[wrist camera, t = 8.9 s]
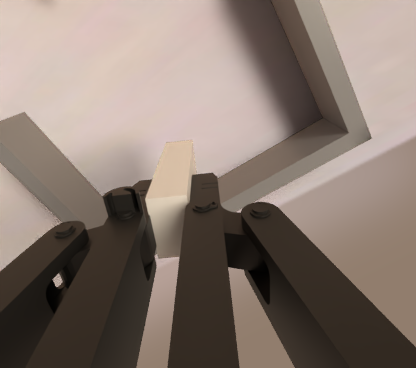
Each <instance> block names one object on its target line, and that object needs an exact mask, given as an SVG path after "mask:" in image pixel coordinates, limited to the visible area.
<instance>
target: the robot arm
mask: <svg viewBox="0 0 416 368" xmlns="http://www.w3.org/2000/svg"><path fill="white" fill-rule="evenodd" d="M103 201H104V204H105V207H106V211H107V214H108V218H107V219H106V221H105V223H104V225H102V226H99V227H95V228H92V229H88V230H87V229H86V227H85V224H84V223H83V222H81V221H67V222H63V223H61V224H59V225H57V226H55V227H53V228H52V229H50V230H49V231H48V232H47V233H45V234H44V235H43V236H42V237H41V238H39V239H38V240H37V241H36V242H35V243H34V244H32V245H31V246H30V247H29V248H28V249H26V250H25V251H24V252H23V253H22V254H20V255H19V256H18V257H17V258H16V259H15V260H13V261H12V262H11V263H10V264H9V265H7V266H6V267H5V268H4V269H3V270H1V271H0V368H136V366H137V360H138V356H139V351H140V345H141V341H142V336H143V331H144V326H145V321H146V317H147V311H148V307H149V302H150V297H151V292H152V287H153V282H154V277H155V272H156V261H155V257H154V255H155V251H156V250H157V254H158V258H169V257H180V259H179V269H178V277H177V286H176V296H175V304H174V314H173V323H172V332H171V342H170V350H169V359H168V368H239V360H238V351H237V342H236V333H235V325H234V316H233V307H232V298H231V289H230V281H229V272H228V267H231V268H237V269H244V271H245V275H246V277H247V279H248V281H249V283H250V285H251V286H252V288H253V290H254V292H255V294H256V296H257V298H258V300H259V302H260V303H261V305H262V307H263V309H264V311H265V313H266V315H267V316H268V318H269V320H270V322H271V324H272V326H273V328H274V329H275V331H276V333H277V335H278V337H279V339H280V340H281V343H282V344H283V346H284V348H285V350H286V352H287V354H288V355H289V358H290V359H291V361H292V363H293V365H294V367H295V368H416V347H415V346H414V345H413V344H412V343H411V342H410V341H409V340H408V339H407V338H406V337H405V336H404V335H403V334H402V333H401V332H400V331H399V330H398V329H397V328H396V327H395V326H394V325H393V324H392V323H391V322H390V321H389V320H388V319H387V318H386V317H385V316H384V315H383V314H382V313H381V312H380V311H379V310H378V309H377V308H376V307H375V305H374V304H373V303H372V302H371V301H370V300H369V299H368V298H366V296H365V295H364V294H363V293H362V292H361V291H360V290H359V289H357V287H356V286H355V285H354V284H353V283H352V282H351V281H350V280H349V279H348V278H347V277H346V276H345V275H344V274H343V273H342V272H341V271H340V270H339V269H338V268H337V267H336V266H335V265H334V264H333V263H332V262H331V261H330V260H329V259H328V258H327V257H326V256H325V255H324V254H323V253H322V252H321V251H320V250H319V249H318V248H317V247H316V246H315V245H314V244H313V243H312V242H311V241H310V240H309V239H308V238H307V237H306V235H305V234H303V233H302V231H301V230H300V229H299V228H298V227H297V226H296V225H295V224H294V223H293V222H292V221H291V220H290V219H289V218H288V217H287V216H286V215H285V214H284V213H283V212H282V211H281V210H280V209H279V208H278V207H276V206H275V205H273V204H270V203H266V202H256V203H251V204H248V205H246V206H245V207H244V208H242V211H241V213H237V212H231V211H228V210H226V209H224V208H223V207H222V206H221V204H220V196H219V188H218V179H217V176H215V175H214V174H213V173H206V174H197V173H196V165H195V157H194V149H193V141H192V140H187V141H178V142H168V143H166V144H165V147H164V150H163V152H162V155H161V158H160V160H159V163H158V166H157V168H156V171H155V174H154V177H153V179H152V180H143V181H139V182H138V183H136V184H135V185H134V186H133V187H120V188H116V189H113V190H111V191H109V192H107V193H106V194H105V195H104V196H103ZM58 273H59V274H60V276H61V278H62V281H63V283H62V284H61V285H60V286H58V287H56V286H55V284H54V282H53V280H52V279H53V278H54V277H55V276H56V275H57V274H58Z"/></svg>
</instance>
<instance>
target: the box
mask: <svg viewBox="0 0 416 368" xmlns="http://www.w3.org/2000/svg"><path fill="white" fill-rule="evenodd" d="M271 2H272V4H273V7H274V9H275V11H276V13H277V16H278V18H279V20H280V22H281V25H282V27H283V29H284V31H285V34H286V36H287V38H288V40H289V43H290V45H291V47H292V49H293V52H294V54H295V56H296V58H297V61H298V63H299V65H300V67H301V70H302V72H303V74H304V76H305V79H306V81H307V83H308V85H309V88H310V90H311V92H312V94H313V97H314V99H315V101H316V103H317V106H318V108H319V110H320V112H321V115H322V117H323V118H322V119H320V120H319V121H317V122H315V123H313V124H312V125H310V126H308V127H306V128H305V129H303V130H301V131H299V132H298V133H296V134H294V135H293V136H291V137H289V138H287V139H286V140H284V141H282V142H280V143H279V144H277V145H275V146H273V147H272V148H270V149H268V150H267V151H265V152H263V153H261V154H260V155H258V156H256V157H254V158H253V159H251V160H249V161H247V162H246V163H244V164H242V165H241V166H239V167H237V168H235V169H234V170H232V171H230V172H228V173H227V174H225V175H223V176H221V177H220V178H218V188H219V196H220V204H221V206H222V207H223V208H224V209H226V210H228V211H231V212H236V211H238V210H240V209H241V208H243V207H245V206H246V205H248V204H251V203H253V202H254V201H256V200H258V199H260V198H262V197H264V196H266V195H267V194H269V193H271V192H273V191H275V190H277V189H279V188H280V187H282V186H284V185H286V184H288V183H290V182H292V181H293V180H295V179H297V178H299V177H301V176H303V175H305V174H306V173H308V172H310V171H312V170H314V169H316V168H318V167H319V166H321V165H323V164H325V163H327V162H329V161H331V160H332V159H334V158H336V157H338V156H340V155H342V154H344V153H345V152H347V151H349V150H351V149H353V148H355V147H357V146H358V145H360V144H362V143H364V142H366V141H368V140H370V139H371V135H370V132H369V130H368V127H367V124H366V122H365V119H364V116H363V114H362V111H361V109H360V106H359V103H358V101H357V98H356V95H355V93H354V90H353V87H352V85H351V82H350V79H349V77H348V74H347V71H346V69H345V66H344V63H343V61H342V58H341V56H340V53H339V50H338V48H337V45H336V42H335V40H334V37H333V34H332V32H331V29H330V26H329V24H328V21H327V18H326V16H325V13H324V11H323V8H322V5H321V3H320V0H271ZM0 163H1V164H2V165H3V166H4V167H5V168H7V169H8V170H9V171H10V172H11V173H12V174H13V175H14V176H15V177H16V178H17V179H18V180H19V181H20V182H21V183H22V184H23V185H24V186H25V187H26V188H27V189H28V190H29V191H30V192H32V193H33V194H34V195H35V196H36V197H37V198H38V199H39V200H40V201H41V202H42V203H43V204H44V205H45V206H46V207H47V208H48V209H49V210H50V211H51V212H52V213H53V214H54V215H56V216H57V217H58V218H59V219H60V220H61V221H62V222H67V221H81V222H83V223H84V224H85V227H86V229H87V230H88V229H92V228H95V227H99V226H102V225H104V223H105V221H106V219H107V218H108V214H107V211H106V207H105V204H104V201H103V197H102V196H101V195H100V194H99V193H98V192H97V191H96V190H95V188H94V187H93V186H92V185H91V184H90V183H89V182H88V181H87V180H86V179H85V178H84V176H83V175H82V174H81V173H80V172H79V171H78V170H77V169H76V168H75V167H74V166H73V165H72V163H71V162H70V161H69V160H68V159H67V158H66V157H65V156H64V155H63V154H62V153H61V151H60V150H59V149H58V148H57V147H56V146H55V145H54V144H53V143H52V142H51V141H50V140H49V138H48V137H47V136H46V135H45V134H44V133H43V132H42V131H41V130H40V129H39V128H38V126H37V125H36V124H35V123H34V122H33V121H32V120H31V119H30V118H29V117H28V116H27V115H26V113H25V112H23V113H21V114H18V115H15V116H13V117H10V118H7V119H5V120H2V121H0ZM156 254H157V250H156V251H155V255H156Z"/></svg>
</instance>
